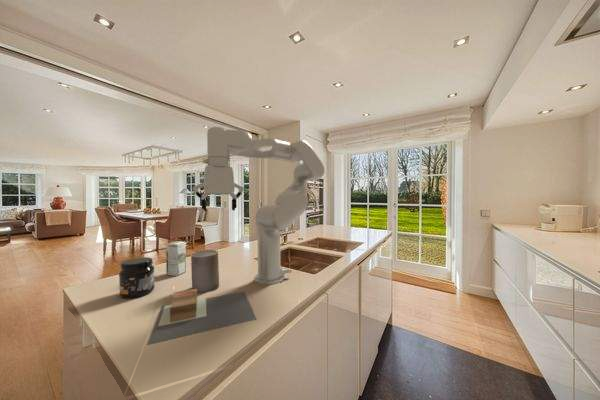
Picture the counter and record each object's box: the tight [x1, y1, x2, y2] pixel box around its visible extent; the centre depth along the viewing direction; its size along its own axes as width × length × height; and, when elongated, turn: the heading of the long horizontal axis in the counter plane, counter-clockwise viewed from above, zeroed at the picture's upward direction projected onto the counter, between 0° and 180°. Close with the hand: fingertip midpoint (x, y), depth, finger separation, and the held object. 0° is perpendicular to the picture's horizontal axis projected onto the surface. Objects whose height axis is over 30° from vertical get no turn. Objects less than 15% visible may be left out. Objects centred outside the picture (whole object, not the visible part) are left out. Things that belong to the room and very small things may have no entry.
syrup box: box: [165, 240, 187, 277], centre depth 101 cm, size 6×6×14 cm
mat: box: [146, 291, 257, 346], centre depth 66 cm, size 26×20×1 cm
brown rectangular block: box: [170, 289, 198, 322], centre depth 67 cm, size 11×6×4 cm, turn 24°
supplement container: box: [118, 256, 156, 299], centre depth 81 cm, size 10×10×12 cm
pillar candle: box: [190, 249, 220, 294], centre depth 85 cm, size 10×10×15 cm
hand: (219, 210), depth 79 cm, fingers open, 9 cm apart
